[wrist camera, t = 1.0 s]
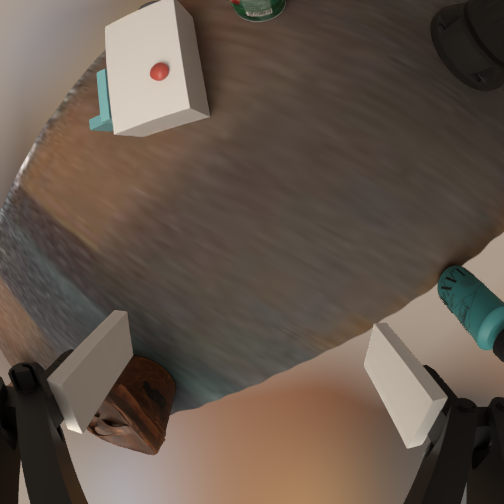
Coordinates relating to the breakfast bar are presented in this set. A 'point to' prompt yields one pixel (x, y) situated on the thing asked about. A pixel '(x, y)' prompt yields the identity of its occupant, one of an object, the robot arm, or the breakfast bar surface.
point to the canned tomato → (258, 9)
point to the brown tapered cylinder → (136, 408)
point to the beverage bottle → (474, 308)
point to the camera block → (154, 70)
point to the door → (103, 105)
